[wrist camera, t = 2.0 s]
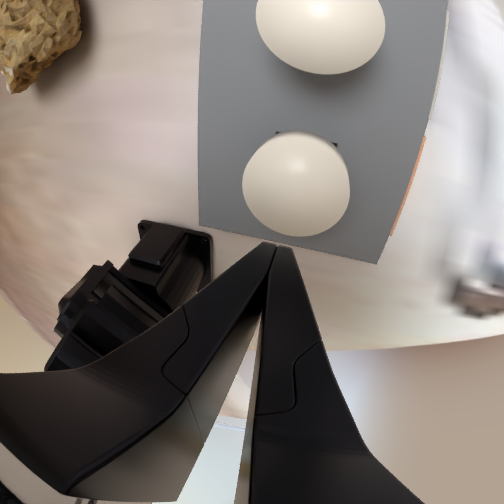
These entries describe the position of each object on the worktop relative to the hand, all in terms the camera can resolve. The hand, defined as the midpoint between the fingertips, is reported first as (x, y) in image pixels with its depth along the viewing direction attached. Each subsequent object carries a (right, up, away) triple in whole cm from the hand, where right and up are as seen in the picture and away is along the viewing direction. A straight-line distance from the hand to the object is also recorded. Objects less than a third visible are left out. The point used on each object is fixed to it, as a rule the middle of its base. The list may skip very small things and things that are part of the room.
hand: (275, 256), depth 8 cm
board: (+3, +12, +3) cm, 12 cm away
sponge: (-19, +23, +2) cm, 30 cm away
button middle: (+3, +10, +1) cm, 11 cm away
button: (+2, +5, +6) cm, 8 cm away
